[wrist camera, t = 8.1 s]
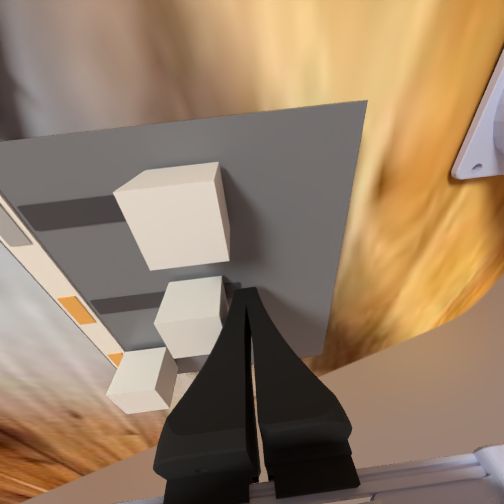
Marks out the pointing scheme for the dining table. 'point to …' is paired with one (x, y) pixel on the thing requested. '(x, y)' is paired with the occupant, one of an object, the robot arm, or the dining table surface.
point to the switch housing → (238, 207)
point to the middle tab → (192, 316)
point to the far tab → (144, 381)
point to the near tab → (178, 215)
